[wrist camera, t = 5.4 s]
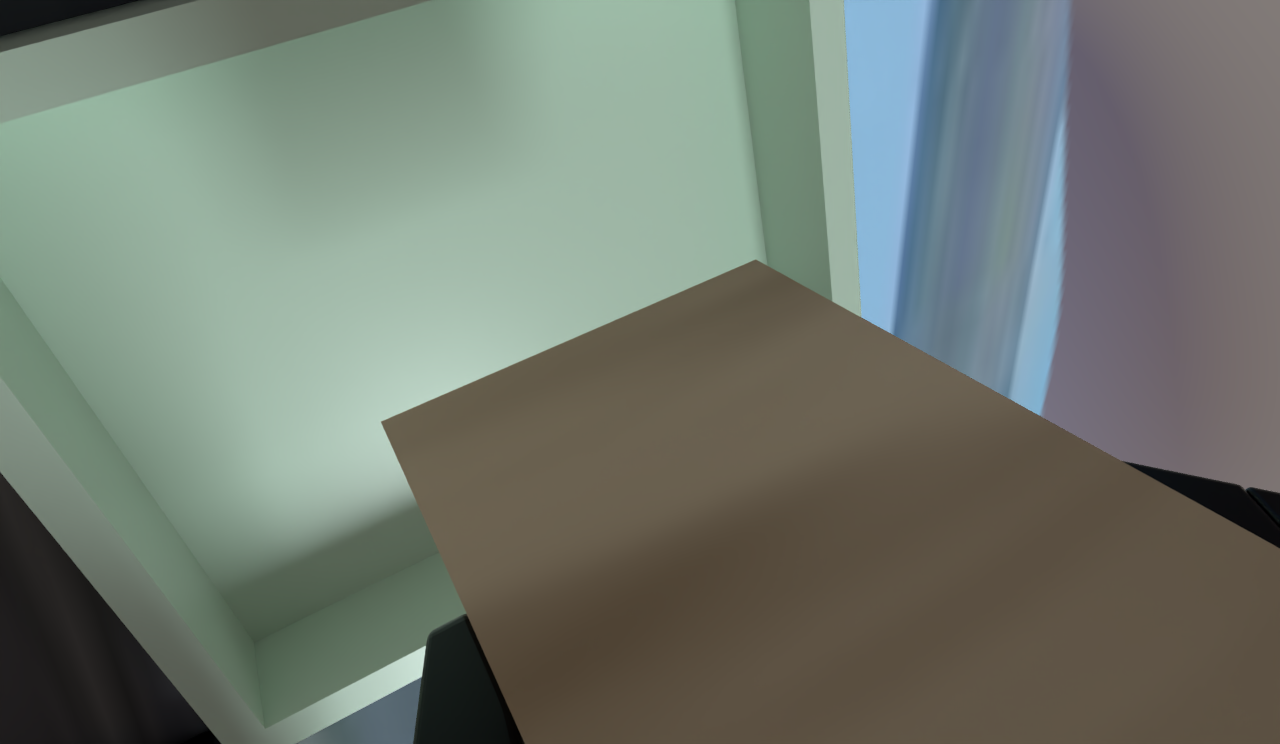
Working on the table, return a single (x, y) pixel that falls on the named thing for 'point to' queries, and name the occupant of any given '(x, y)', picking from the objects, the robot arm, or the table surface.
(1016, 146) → the table surface
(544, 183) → the tray
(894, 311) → the table surface
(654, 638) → the block
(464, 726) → the robot arm
